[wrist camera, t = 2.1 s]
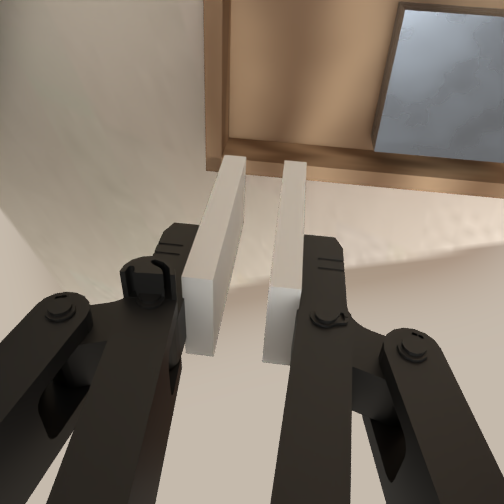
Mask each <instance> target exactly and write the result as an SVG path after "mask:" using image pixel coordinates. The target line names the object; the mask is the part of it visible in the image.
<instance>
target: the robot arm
mask: <svg viewBox="0 0 504 504" xmlns="http://www.w3.org/2000/svg"><path fill="white" fill-rule="evenodd" d="M306 166H307V162H298V161H287V160H285V161H284V169H283V178H282V186H281V194H280V202H279V210H278V218H277V226H276V235H275V243H274V251H273V259H272V267H271V275H270V284H269V294H268V305H267V316H266V327H265V338H264V349H263V360H262V361H263V362H266V363H273V364H282V365H290V373H289V380H288V386H287V393H286V401H285V407H284V414H283V421H282V428H281V435H280V441H279V448H278V455H277V462H276V469H275V477H274V483H273V490H272V496H271V504H350V487H351V418H352V417H351V416H352V411H355V412H357V413H359V414H362V417H363V421H364V425H365V428H366V432H367V435H368V439H369V443H370V446H371V450H372V453H373V457H374V461H375V464H376V468H377V471H378V475H379V479H380V482H381V486H382V489H383V493H384V497H385V500H386V504H504V477H503V475H502V473H501V471H500V469H499V467H498V465H497V463H496V461H495V459H494V456H493V454H492V452H491V450H490V448H489V446H488V444H487V442H486V440H485V438H484V436H483V434H482V432H481V430H480V428H479V426H478V424H477V422H476V420H475V418H474V415H473V413H472V411H471V409H470V407H469V405H468V403H467V401H466V399H465V397H464V395H463V393H462V391H461V389H460V387H459V385H458V383H457V381H456V379H455V377H454V375H453V372H452V370H451V368H450V367H449V364H448V362H447V360H446V358H445V356H444V354H443V352H442V350H441V348H440V347H439V346H438V344H437V343H436V342H435V340H433V339H432V338H431V337H429V336H428V335H427V334H425V333H422V332H420V331H418V330H415V329H409V328H401V329H394V330H393V331H391V332H390V333H388V334H387V335H386V336H384V335H381V334H378V333H376V332H373V331H370V330H368V329H366V328H364V327H362V326H361V325H359V324H358V323H357V322H356V321H355V320H354V319H353V318H352V317H351V314H350V313H349V312H348V308H347V301H346V286H345V273H344V263H343V261H344V258H343V248H342V247H341V245H340V244H339V242H338V241H337V240H336V238H334V237H324V236H314V235H304V217H305V192H306ZM245 176H246V157H243V156H232V155H224V158H223V161H222V164H221V166H220V169H219V172H218V175H217V178H216V180H215V183H214V186H213V189H212V192H211V194H210V197H209V200H208V203H207V206H206V209H205V211H204V214H203V217H202V220H201V223H200V225H193V224H183V223H174V224H172V225H171V226H170V227H169V228H167V229H166V230H165V231H164V232H163V234H162V236H161V238H160V241H159V244H158V245H157V247H156V249H155V253H154V254H153V256H145V257H140V258H136V259H133V260H131V261H130V262H128V263H127V264H125V265H124V266H123V268H122V269H121V270H120V277H121V283H122V289H123V295H124V298H123V299H121V300H118V301H115V302H110V303H103V304H95V305H90V304H89V301H88V300H87V299H86V298H85V296H83V295H80V294H78V293H73V292H63V293H57V294H54V295H51V296H49V297H46V298H45V299H43V300H42V301H41V302H39V303H38V304H37V305H36V306H35V307H34V308H33V309H32V310H31V311H30V312H29V313H28V314H27V315H26V316H25V317H24V318H23V320H21V322H20V323H19V324H18V325H17V326H16V327H15V328H14V329H13V330H12V331H11V332H10V333H9V334H8V335H7V336H6V337H5V338H4V339H3V340H2V342H1V343H0V504H25V503H26V502H27V500H28V499H29V497H30V496H31V494H32V493H33V491H34V490H35V488H36V487H37V485H38V484H39V482H40V481H41V479H42V478H43V476H44V474H45V473H46V471H47V470H48V468H49V467H50V465H51V464H52V462H53V460H54V459H55V458H56V456H57V455H58V453H59V452H60V450H61V449H62V447H63V445H64V444H65V442H66V441H67V439H68V438H69V436H70V435H71V433H72V432H73V434H72V436H71V439H70V442H69V444H68V447H67V450H66V453H65V455H64V458H63V460H62V463H61V466H60V468H59V471H58V474H57V477H56V479H55V482H54V484H53V487H52V490H51V492H50V495H49V498H48V500H47V503H46V504H155V502H156V497H157V492H158V487H159V481H160V476H161V471H162V467H163V461H164V456H165V451H166V446H167V441H168V436H169V431H170V426H171V421H172V416H173V411H174V405H175V401H176V396H177V391H178V385H179V380H180V375H181V370H182V364H181V363H182V362H181V355H182V351H183V348H184V344H185V346H186V353H188V354H197V355H206V356H214V352H215V347H216V343H217V339H218V334H219V330H220V325H221V321H222V316H223V312H224V307H225V303H226V298H227V294H228V290H229V285H230V281H231V276H232V272H233V267H234V263H235V258H236V254H237V250H238V245H239V241H240V236H241V232H242V227H243V223H244V200H245ZM73 430H74V431H73Z"/></svg>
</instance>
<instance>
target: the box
mask: <svg viewBox="0 0 504 504" xmlns="http://www.w3.org/2000/svg"><path fill="white" fill-rule="evenodd" d="M399 2H412V3H426V4H440V5H455V6H469V7H483V8H497V9H504V0H203V4H204V69H205V134H206V171H215V172H219V169H220V166H221V164H222V161H223V158H224V155H232V156H243V157H246V174H247V175H258V176H268V177H279V178H283V169H284V161H285V160H287V161H298V162H307V166H306V180H311V181H322V182H332V183H343V184H354V185H364V186H375V187H386V188H397V189H407V190H418V191H429V192H439V193H450V194H461V195H471V196H482V197H493V198H503V199H504V163H497V162H486V161H475V160H464V159H452V158H441V157H430V156H419V155H408V154H396V153H385V152H374V149H373V144H372V140H371V132H372V127H373V122H374V117H375V113H376V108H377V103H378V98H379V94H380V89H381V84H382V79H383V75H384V70H385V65H386V61H387V56H388V51H389V46H390V42H391V37H392V32H393V27H394V23H395V18H396V13H397V8H398V4H399Z"/></svg>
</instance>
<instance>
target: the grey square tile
mask: <svg viewBox="0 0 504 504" xmlns="http://www.w3.org/2000/svg"><path fill="white" fill-rule="evenodd" d="M371 140H372V144H373V149H374V152H385V153H396V154H408V155H419V156H430V157H441V158H452V159H464V160H475V161H486V162H497V163H504V9H497V8H483V7H469V6H455V5H440V4H426V3H412V2H399V4H398V8H397V13H396V18H395V23H394V27H393V32H392V37H391V42H390V46H389V51H388V56H387V61H386V65H385V70H384V75H383V79H382V84H381V89H380V94H379V98H378V103H377V108H376V113H375V117H374V122H373V127H372V132H371Z"/></svg>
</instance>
